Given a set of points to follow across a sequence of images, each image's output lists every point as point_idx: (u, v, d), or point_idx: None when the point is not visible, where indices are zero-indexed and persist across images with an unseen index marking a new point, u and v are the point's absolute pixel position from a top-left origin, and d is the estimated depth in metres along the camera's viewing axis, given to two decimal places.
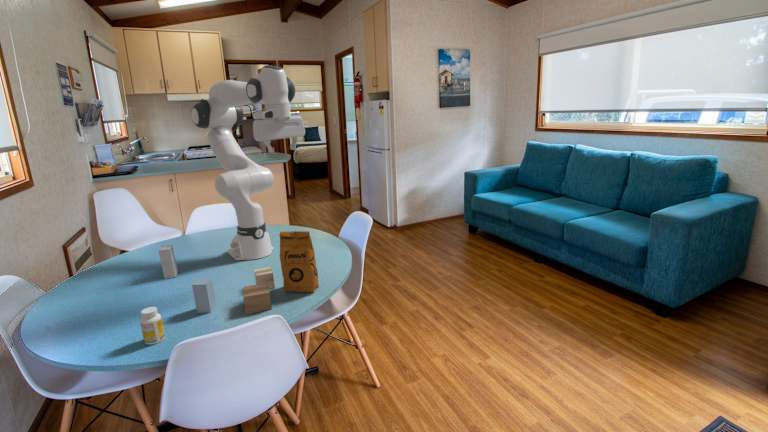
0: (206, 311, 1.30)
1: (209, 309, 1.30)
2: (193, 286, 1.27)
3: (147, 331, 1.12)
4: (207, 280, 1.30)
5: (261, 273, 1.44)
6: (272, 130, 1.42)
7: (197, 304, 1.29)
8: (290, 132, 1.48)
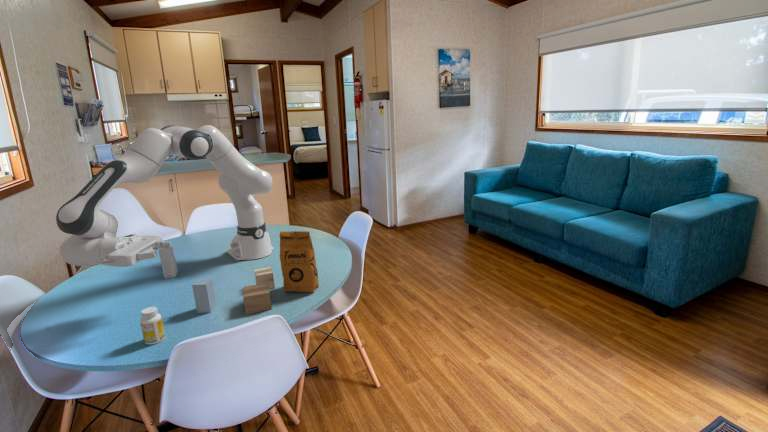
0: (206, 311, 1.30)
1: (209, 309, 1.30)
2: (193, 286, 1.27)
3: (147, 331, 1.12)
4: (207, 280, 1.30)
5: (261, 273, 1.44)
6: None
7: (197, 304, 1.29)
8: None
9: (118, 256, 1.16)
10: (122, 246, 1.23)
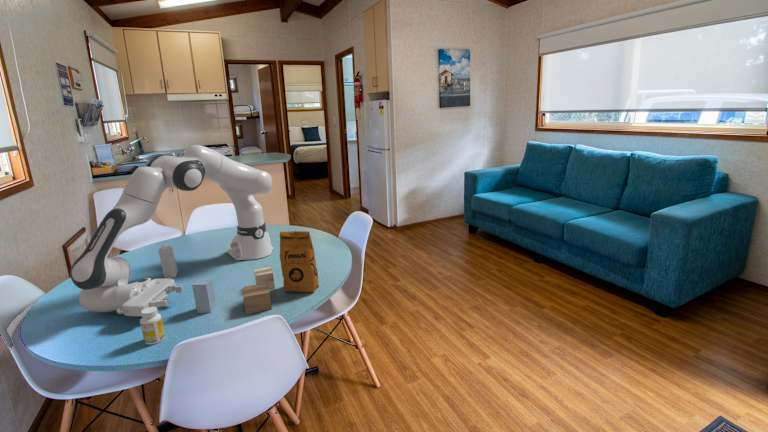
0: (206, 311, 1.30)
1: (209, 309, 1.30)
2: (193, 286, 1.27)
3: (147, 331, 1.12)
4: (207, 280, 1.30)
5: (261, 273, 1.44)
6: None
7: (197, 304, 1.29)
8: None
9: (132, 307, 1.21)
10: (136, 293, 1.28)
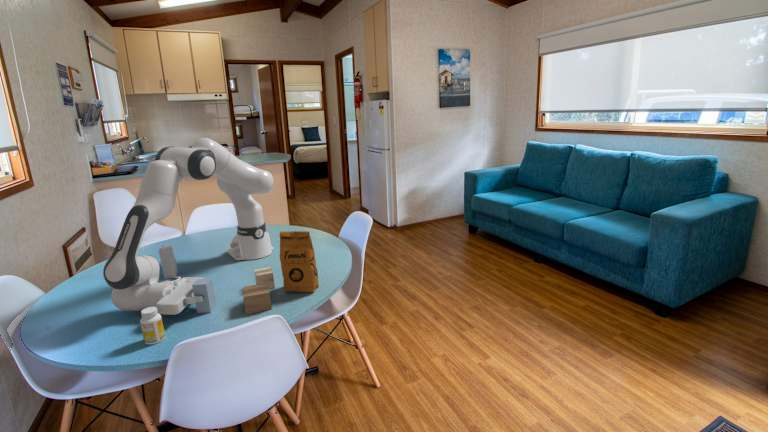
0: (206, 311, 1.30)
1: (209, 309, 1.30)
2: (193, 286, 1.27)
3: (147, 331, 1.12)
4: (207, 280, 1.30)
5: (261, 273, 1.44)
6: None
7: (197, 304, 1.29)
8: None
9: (166, 305, 1.21)
10: (168, 292, 1.28)
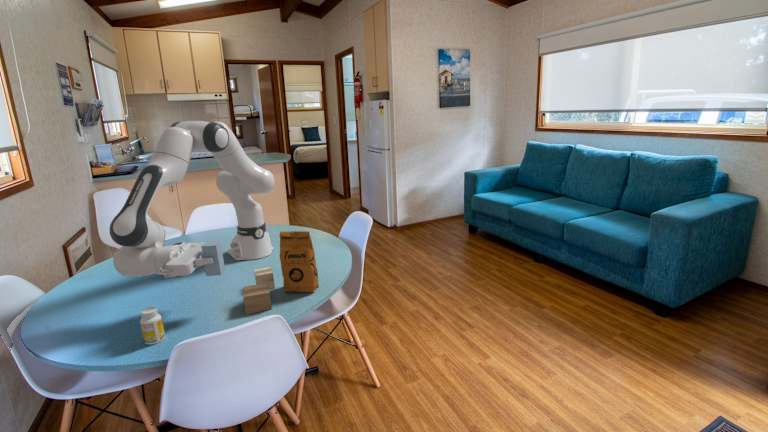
0: (216, 274, 1.26)
1: (219, 271, 1.26)
2: (202, 247, 1.23)
3: (147, 331, 1.12)
4: (216, 242, 1.27)
5: (261, 273, 1.44)
6: None
7: (206, 267, 1.25)
8: None
9: (177, 265, 1.16)
10: (176, 255, 1.23)
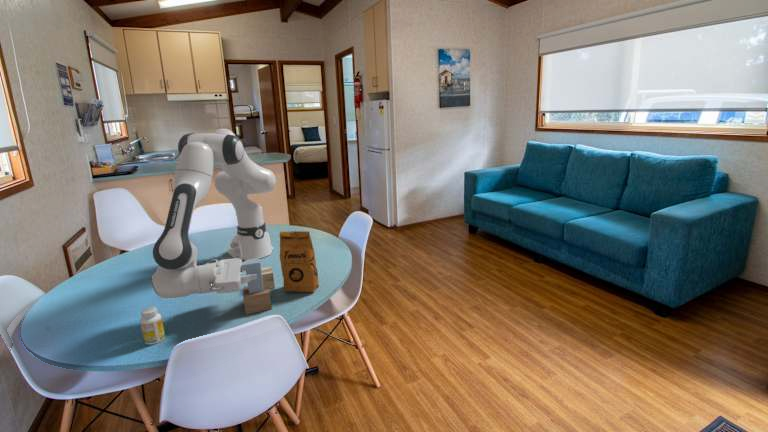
0: (259, 290, 1.29)
1: (261, 287, 1.29)
2: (246, 266, 1.26)
3: (147, 331, 1.12)
4: (256, 259, 1.30)
5: None
6: None
7: (249, 284, 1.28)
8: None
9: (228, 282, 1.18)
10: (219, 272, 1.24)
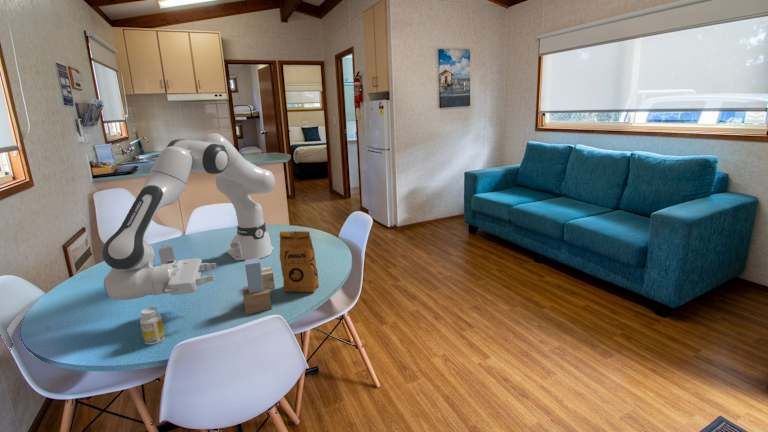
0: (259, 290, 1.29)
1: (261, 287, 1.29)
2: (246, 266, 1.26)
3: (147, 331, 1.12)
4: (256, 259, 1.30)
5: None
6: None
7: (249, 284, 1.28)
8: None
9: (182, 284, 1.15)
10: (174, 273, 1.21)
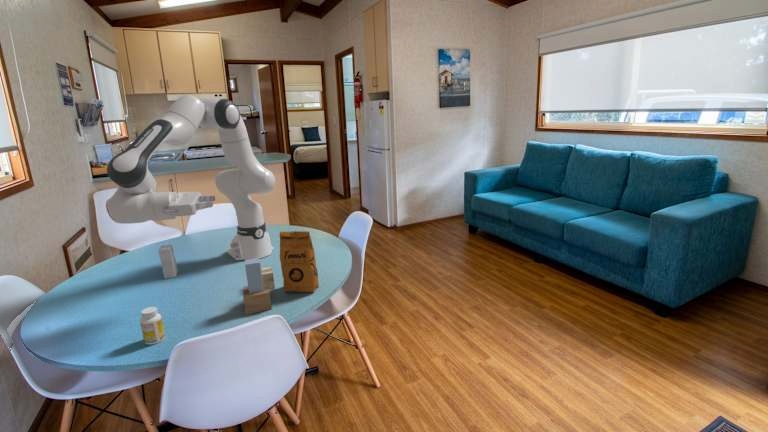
0: (259, 290, 1.29)
1: (261, 287, 1.29)
2: (246, 266, 1.26)
3: (147, 331, 1.12)
4: (256, 259, 1.30)
5: None
6: None
7: (249, 284, 1.28)
8: None
9: (182, 205, 1.18)
10: (174, 199, 1.24)
